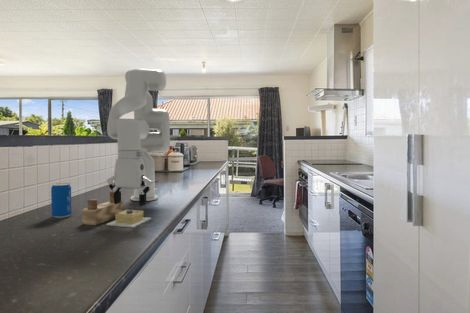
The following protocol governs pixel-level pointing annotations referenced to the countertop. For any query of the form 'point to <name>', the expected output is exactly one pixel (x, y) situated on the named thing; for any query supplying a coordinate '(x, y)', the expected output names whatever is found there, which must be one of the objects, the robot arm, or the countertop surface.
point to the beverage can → (61, 200)
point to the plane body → (100, 211)
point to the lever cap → (129, 216)
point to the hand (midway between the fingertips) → (130, 204)
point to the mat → (129, 224)
